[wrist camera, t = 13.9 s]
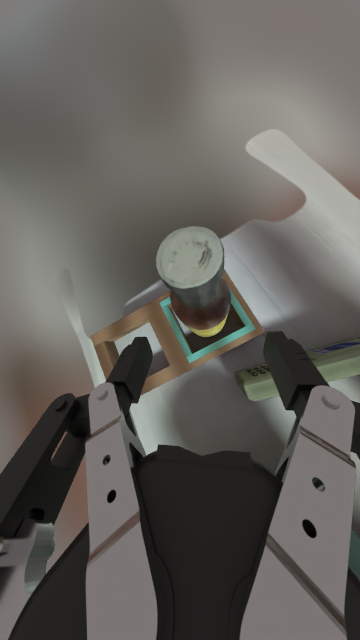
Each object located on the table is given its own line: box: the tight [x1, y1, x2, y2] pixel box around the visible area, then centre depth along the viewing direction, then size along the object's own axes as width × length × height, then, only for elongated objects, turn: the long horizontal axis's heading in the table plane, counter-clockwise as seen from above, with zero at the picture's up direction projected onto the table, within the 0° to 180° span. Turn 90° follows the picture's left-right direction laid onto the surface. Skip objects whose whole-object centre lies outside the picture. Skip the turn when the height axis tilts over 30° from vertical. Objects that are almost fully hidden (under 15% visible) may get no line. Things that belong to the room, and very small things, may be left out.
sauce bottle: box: [155, 226, 231, 337], centre depth 18 cm, size 6×6×20 cm
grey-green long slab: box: [235, 338, 360, 401], centre depth 21 cm, size 7×3×25 cm
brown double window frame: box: [91, 270, 265, 396], centre depth 27 cm, size 26×13×3 cm, turn 118°
